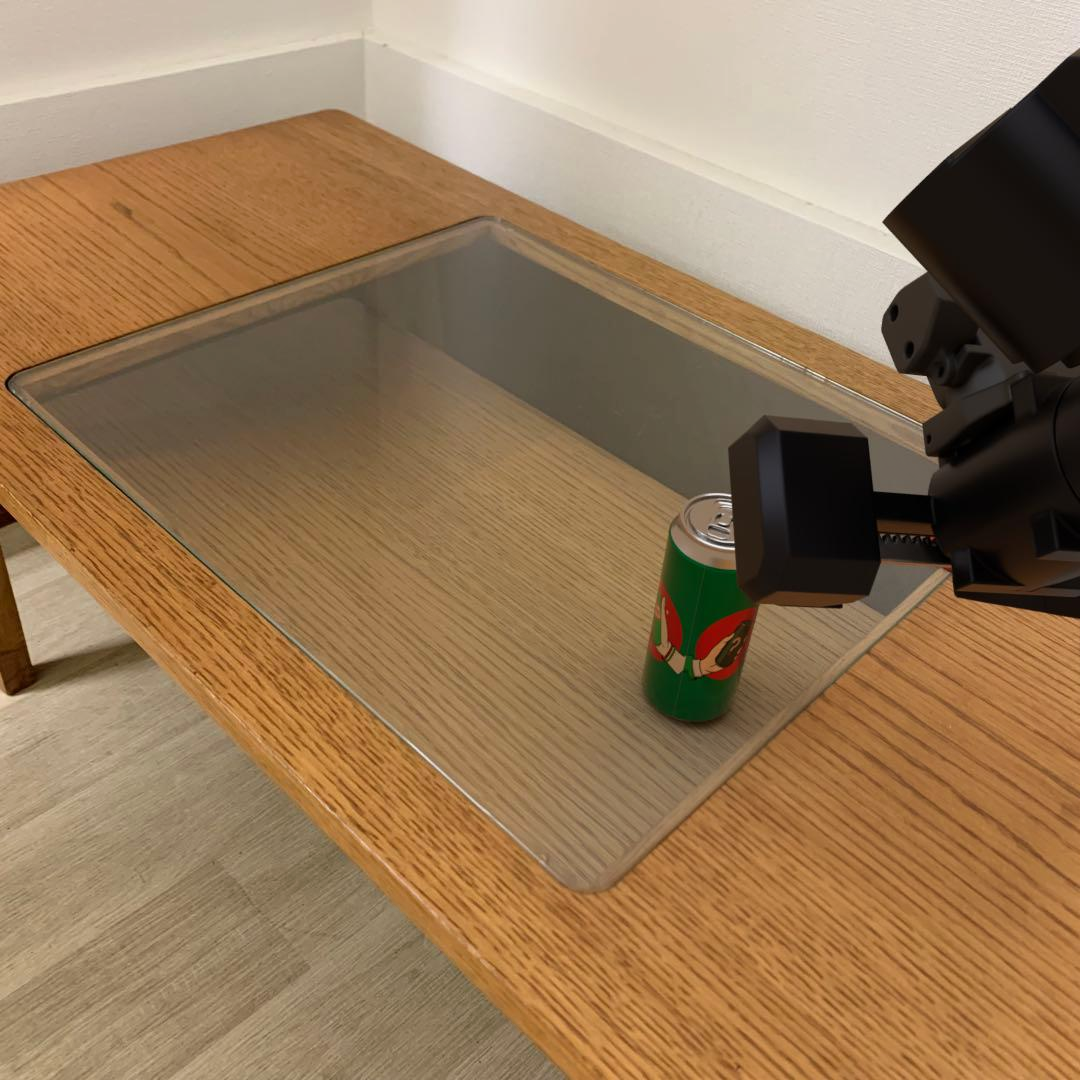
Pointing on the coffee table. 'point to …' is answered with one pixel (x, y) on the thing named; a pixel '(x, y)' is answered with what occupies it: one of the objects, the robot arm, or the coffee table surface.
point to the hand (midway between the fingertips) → (862, 580)
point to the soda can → (698, 616)
